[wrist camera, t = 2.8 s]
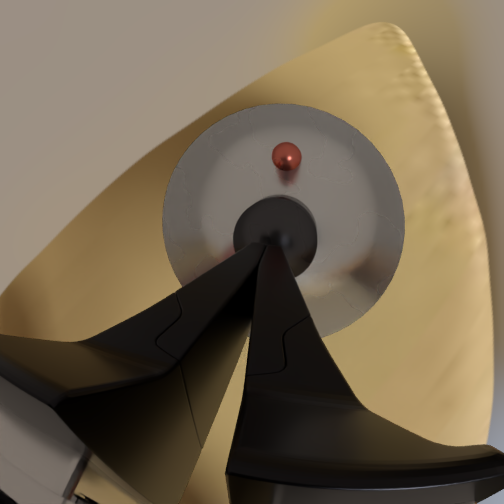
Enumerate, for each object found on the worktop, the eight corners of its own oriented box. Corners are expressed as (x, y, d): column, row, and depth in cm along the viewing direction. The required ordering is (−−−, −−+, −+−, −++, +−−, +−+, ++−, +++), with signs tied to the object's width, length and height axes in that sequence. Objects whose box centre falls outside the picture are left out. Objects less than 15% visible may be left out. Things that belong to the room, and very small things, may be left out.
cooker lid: (370, 344, 14) (378, 377, 11) (170, 311, 15) (146, 336, 13) (412, 128, 11) (434, 120, 8) (181, 103, 12) (152, 92, 10)
